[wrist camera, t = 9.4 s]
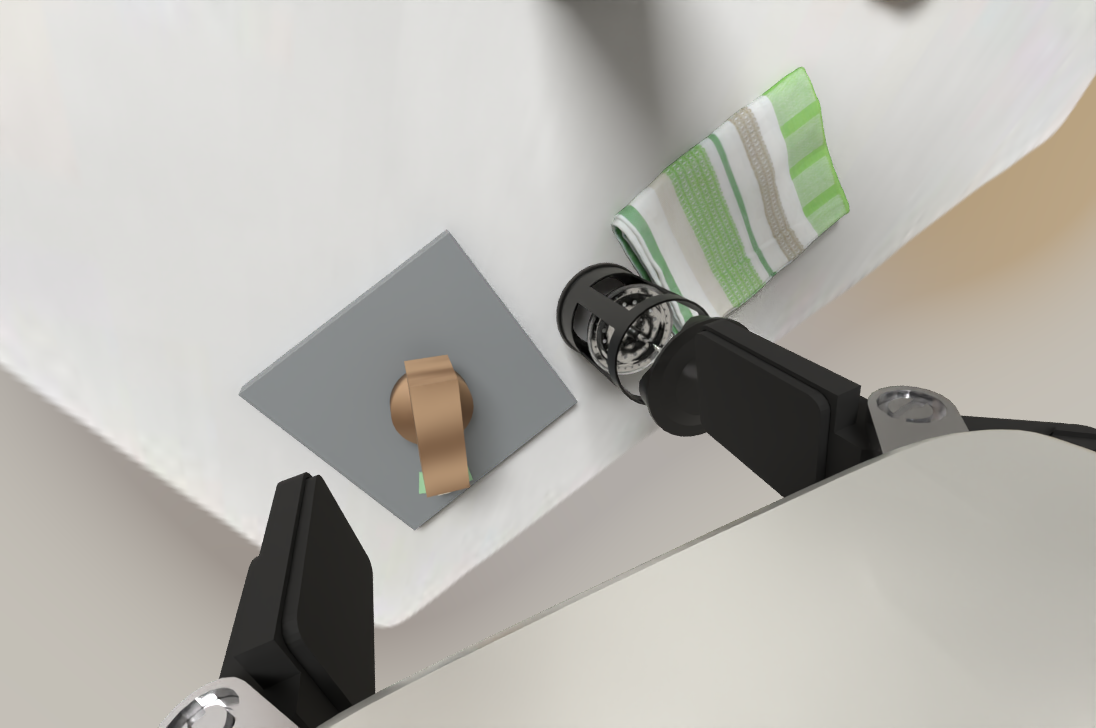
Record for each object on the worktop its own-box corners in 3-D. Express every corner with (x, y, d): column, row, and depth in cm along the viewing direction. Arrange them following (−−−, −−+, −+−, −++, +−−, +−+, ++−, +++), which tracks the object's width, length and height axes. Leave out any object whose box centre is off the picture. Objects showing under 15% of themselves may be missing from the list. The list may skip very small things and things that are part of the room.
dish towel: (601, 217, 44) (619, 222, 41) (791, 61, 45) (822, 55, 42) (676, 344, 53) (696, 356, 50) (834, 213, 54) (863, 217, 50)
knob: (380, 355, 40) (383, 391, 34) (463, 343, 42) (480, 375, 36) (406, 497, 46) (413, 549, 40) (478, 480, 48) (494, 528, 42)
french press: (531, 319, 45) (663, 451, 26) (592, 238, 44) (779, 309, 25) (613, 377, 51) (771, 520, 31) (668, 306, 50) (869, 408, 30)
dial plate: (446, 229, 40) (450, 232, 38) (572, 395, 50) (578, 402, 49) (242, 386, 39) (237, 396, 38) (413, 520, 50) (414, 531, 48)
